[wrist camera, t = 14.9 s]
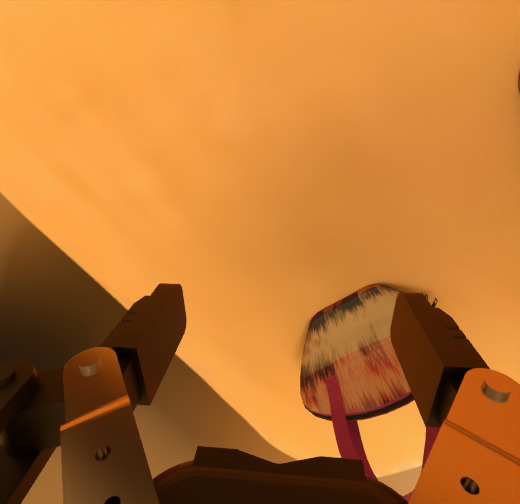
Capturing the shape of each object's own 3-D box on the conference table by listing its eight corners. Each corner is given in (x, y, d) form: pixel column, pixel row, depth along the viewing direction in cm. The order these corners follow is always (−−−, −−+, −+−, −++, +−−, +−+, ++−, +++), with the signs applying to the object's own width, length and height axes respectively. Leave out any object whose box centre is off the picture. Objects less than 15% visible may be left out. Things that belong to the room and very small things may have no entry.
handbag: (412, 261, 43) (544, 435, 20) (443, 312, 46) (590, 514, 23) (282, 329, 50) (274, 515, 27) (317, 369, 53) (335, 568, 30)
